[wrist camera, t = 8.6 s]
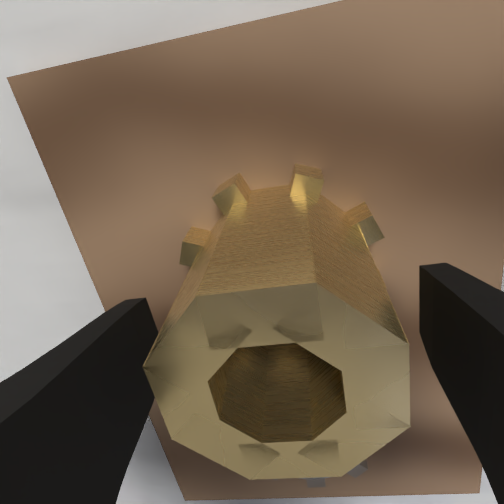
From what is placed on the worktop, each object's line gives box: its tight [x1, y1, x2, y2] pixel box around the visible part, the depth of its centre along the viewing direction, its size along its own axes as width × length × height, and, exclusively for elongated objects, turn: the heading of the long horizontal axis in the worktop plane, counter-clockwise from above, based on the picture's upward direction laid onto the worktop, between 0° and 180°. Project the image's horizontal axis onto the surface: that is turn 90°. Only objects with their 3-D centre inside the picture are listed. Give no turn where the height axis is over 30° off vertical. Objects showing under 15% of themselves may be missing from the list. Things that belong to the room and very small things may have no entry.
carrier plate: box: [7, 0, 504, 501], centre depth 13 cm, size 20×14×4 cm
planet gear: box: [143, 163, 411, 480], centre depth 10 cm, size 6×6×6 cm
